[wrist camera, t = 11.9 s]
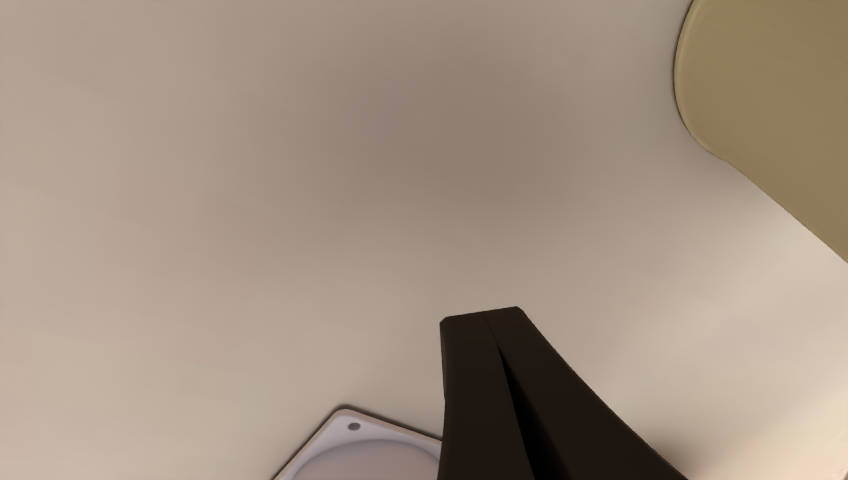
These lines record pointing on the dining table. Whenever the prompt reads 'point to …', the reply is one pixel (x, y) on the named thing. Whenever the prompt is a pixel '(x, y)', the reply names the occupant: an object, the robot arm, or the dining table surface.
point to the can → (773, 100)
